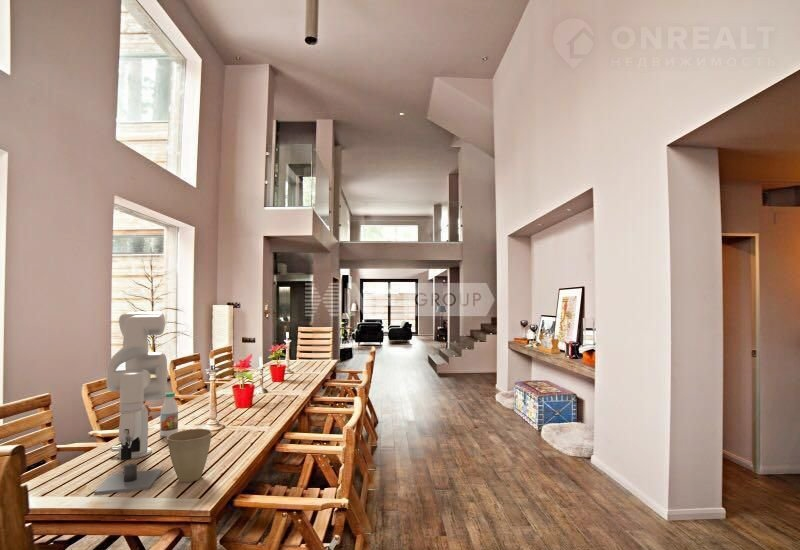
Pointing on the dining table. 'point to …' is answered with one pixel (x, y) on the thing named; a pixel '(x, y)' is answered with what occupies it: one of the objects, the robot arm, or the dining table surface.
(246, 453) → the dining table surface
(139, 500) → the dining table surface
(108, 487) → the lid
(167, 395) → the milk bottle
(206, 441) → the plant pot
